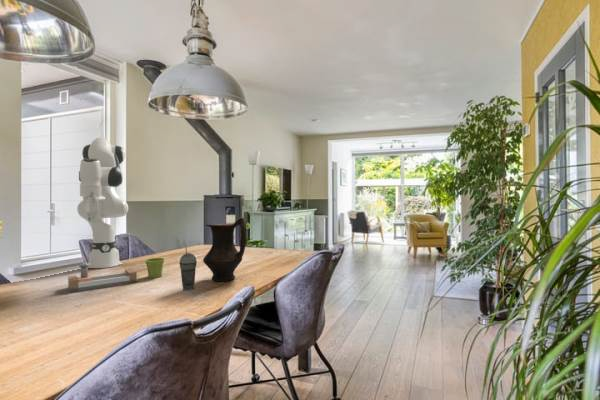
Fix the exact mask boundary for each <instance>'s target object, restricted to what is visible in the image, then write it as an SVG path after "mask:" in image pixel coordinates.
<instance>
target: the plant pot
mask: <svg viewBox="0 0 600 400" xmlns="http://www.w3.org/2000/svg"><path fill="white" fill-rule="evenodd" d="M165 260H166V258H164V257H151V258H148V259H145V260H144V262H145V265H146V269H147V274H148V278H150V279H152V278H154V279H156V278H160V277H162V276H163V267H164V262H165Z"/></svg>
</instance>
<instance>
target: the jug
mask: <svg viewBox="0 0 600 400" xmlns="http://www.w3.org/2000/svg"><path fill="white" fill-rule="evenodd" d="M205 226H206V227H209V228H210V230H211V235H212V236H211V237H212V239H211V240H212V245H211V248H210V249H209V251H208V252H207V253H206V255H205V256H204V257H203V259H202V262H203V263H204V265H206V266H207V268H208V269H209V270H210V271H211V273H212V276H211V280H212V281H217V282H219V281H220V282H226V281H232V280H235V278H236V276H235V274H234V272H235V271H236V269H237V267H238V266H239V265H240V263H241V262H242V261H243V256H244V254H245V251H246V243H247V225H246V221H245V218H244V217H243V216H242V217H241V216H240V217H238V219H236V220H235V221H234V222H233V223H219V224H205ZM238 226H240V241H239V243H240V244H239V251H238V250H237V247H236V246H235V241H234V240H235V239H234V238H235V237H234V236H235V228H237V227H238Z"/></svg>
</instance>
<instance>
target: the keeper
mask: <svg viewBox="0 0 600 400" xmlns="http://www.w3.org/2000/svg"><path fill="white" fill-rule="evenodd" d="M78 265H79V266H78V267H80V275H79V276H77V278H78V283H79V282H86V281H92V277H93V276H91V274H89V273H88V272H89V270H88V269H89V268H88V266H89V264H88V262H86V263H80V264H78Z"/></svg>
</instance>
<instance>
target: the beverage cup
mask: <svg viewBox="0 0 600 400" xmlns="http://www.w3.org/2000/svg"><path fill="white" fill-rule="evenodd" d="M184 248H185V253H184V254H182V256H181V257H180V259H179V263H178V264H179V268H180V277H181V283H182V284H181V285H182V291H185V292H187V291H189V292H190V291H193V290H194V289H195V282H196V267H197V263H198V261H197V258H196V256H195V255H194V254H193V253H190V252H189V253H188V249H187V243H186V242H184Z"/></svg>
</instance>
